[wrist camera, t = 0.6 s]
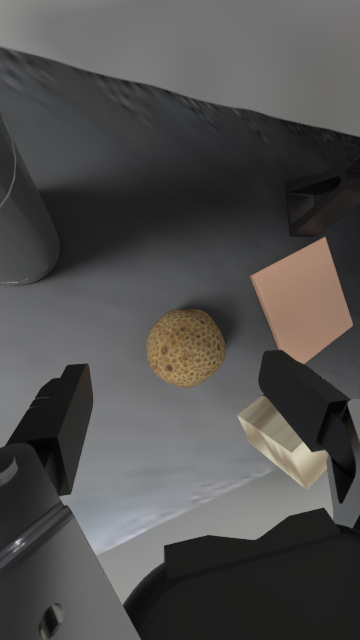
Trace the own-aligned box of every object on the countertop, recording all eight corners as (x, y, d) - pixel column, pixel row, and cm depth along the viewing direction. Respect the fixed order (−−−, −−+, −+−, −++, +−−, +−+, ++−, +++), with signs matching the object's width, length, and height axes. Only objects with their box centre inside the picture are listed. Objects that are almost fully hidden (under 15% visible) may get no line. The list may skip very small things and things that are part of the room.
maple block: (237, 414, 33) (291, 452, 24) (262, 395, 35) (321, 423, 26) (249, 442, 34) (306, 489, 25) (273, 422, 36) (335, 459, 26)
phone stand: (314, 237, 39) (402, 204, 28) (289, 236, 37) (373, 200, 25) (310, 186, 38) (398, 131, 27) (285, 182, 36) (368, 122, 25)
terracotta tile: (249, 275, 34) (252, 275, 33) (321, 237, 39) (325, 236, 39) (288, 373, 37) (290, 374, 36) (349, 325, 42) (353, 325, 42)
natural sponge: (172, 294, 29) (206, 284, 20) (212, 339, 32) (260, 348, 22) (123, 343, 27) (136, 357, 18) (170, 388, 29) (204, 420, 20)
